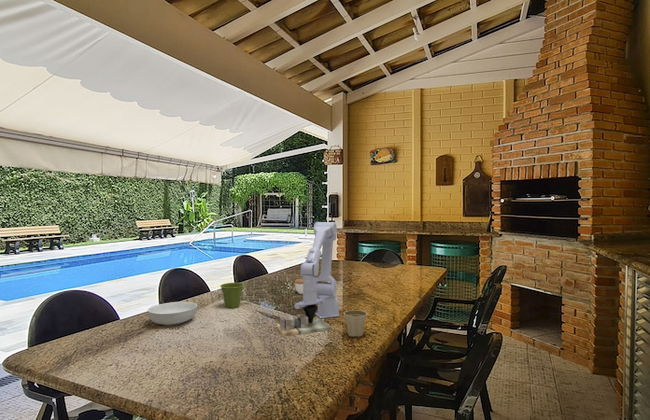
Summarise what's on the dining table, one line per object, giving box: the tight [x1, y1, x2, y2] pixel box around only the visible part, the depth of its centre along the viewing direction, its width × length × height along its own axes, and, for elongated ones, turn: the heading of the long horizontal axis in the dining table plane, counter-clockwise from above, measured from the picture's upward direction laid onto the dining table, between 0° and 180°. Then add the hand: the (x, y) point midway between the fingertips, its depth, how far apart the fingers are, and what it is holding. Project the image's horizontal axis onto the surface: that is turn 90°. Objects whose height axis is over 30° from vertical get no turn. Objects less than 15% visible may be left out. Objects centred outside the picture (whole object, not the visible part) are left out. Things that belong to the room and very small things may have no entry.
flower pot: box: [343, 309, 368, 338], centre depth 152 cm, size 9×9×9 cm
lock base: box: [276, 313, 332, 337], centre depth 160 cm, size 20×12×5 cm, turn 111°
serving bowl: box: [147, 301, 198, 326], centre depth 170 cm, size 21×21×7 cm
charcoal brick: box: [285, 317, 301, 327], centre depth 159 cm, size 9×3×3 cm, turn 111°
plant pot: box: [219, 282, 245, 309], centre depth 195 cm, size 12×12×11 cm
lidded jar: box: [294, 278, 303, 295], centre depth 224 cm, size 11×11×9 cm
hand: (310, 322), depth 161 cm, fingers closed
